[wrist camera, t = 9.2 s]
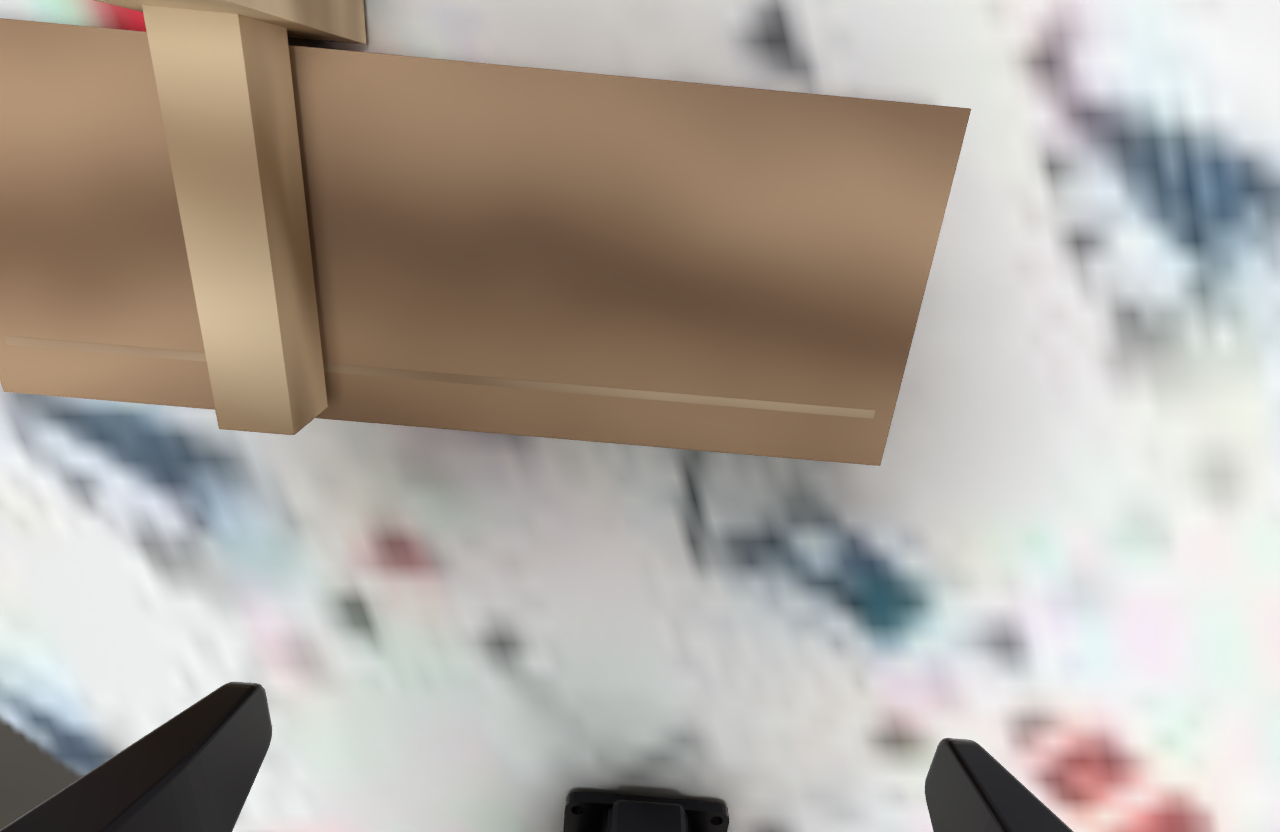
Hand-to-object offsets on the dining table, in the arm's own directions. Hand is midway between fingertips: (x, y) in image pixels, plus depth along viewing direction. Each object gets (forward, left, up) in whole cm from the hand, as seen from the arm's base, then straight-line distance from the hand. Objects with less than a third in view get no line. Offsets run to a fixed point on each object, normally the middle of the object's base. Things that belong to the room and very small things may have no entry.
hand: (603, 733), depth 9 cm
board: (+4, +5, -12) cm, 14 cm away
